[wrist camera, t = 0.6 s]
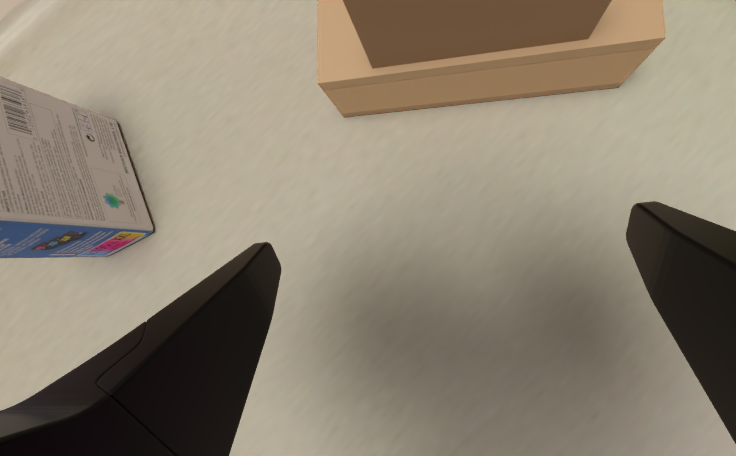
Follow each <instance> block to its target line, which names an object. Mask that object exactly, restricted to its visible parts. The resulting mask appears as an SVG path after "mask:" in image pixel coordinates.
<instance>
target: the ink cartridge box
mask: <svg viewBox="0 0 736 456" xmlns="http://www.w3.org/2000/svg"><path fill="white" fill-rule="evenodd" d="M152 232H153V226H152V223H151V220H150V217H149V214H148V211H147V209H146V206H145V203H144V200H143V197H142V194H141V191H140V189H139V186H138V183H137V180H136V177H135V174H134V171H133V168H132V165H131V162H130V159H129V156H128V153H127V150H126V148H125V145H124V142H123V139H122V136H121V134H120V131H119V127H118V124H117V122H116V121H115V120H112V119H110V118H107V117H104V116H102V115H99V114H97V113H94V112H91V111H89V110H86V109H84V108H81V107H78V106H76V105H73V104H70V103H68V102H65V101H63V100H60V99H57V98H55V97H52V96H50V95H47V94H45V93H42V92H39V91H37V90H34V89H31V88H29V87H26V86H23V85H21V84H18V83H15V82H13V81H10V80H8V79H5V78H3V77H0V258H44V257H106V256H109V255H111V254H113V253H115V252H117V251H119V250H121V249H123V248H125V247H127V246H129V245H131V244H133V243H134V242H136V241H138V240H140V239H142V238H144V237H146V236H148V235H150V234H151V233H152Z"/></svg>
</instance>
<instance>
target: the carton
mask: <svg viewBox="0 0 736 456" xmlns="http://www.w3.org/2000/svg"><path fill="white" fill-rule="evenodd" d="M654 49H655V48H650V49H642V50H634V51H626V52H619V53H611V54H603V55H595V56H587V57H579V58H572V59H564V60H556V61H548V62H540V63H532V64H524V65H517V66H509V67H501V68H493V69H485V70H477V71H470V72H462V73H454V74H446V75H438V76H430V77H422V78H415V79H407V80H399V81H391V82H383V83H375V84H368V85H360V86H352V87H344V88H336V89H328V90H323V91H324V92H325V94H326V95H327V96H328V97H329V99H330V100H331V101H332V102H333V104H334V105H335V106H336V108H337V109H338V110H339V111H340V113H341V114H342V115H343V116H344V117H351V116H360V115H369V114H378V113H388V112H397V111H406V110H415V109H425V108H434V107H443V106H452V105H462V104H471V103H480V102H489V101H498V100H508V99H517V98H526V97H535V96H545V95H554V94H563V93H572V92H582V91H591V90H600V89H609V88H618V87H619V86H620V85H621V84H622V83H623V82H624V81H625V80H626V79H627V78H628V77H629V76H630V75H631V74H632V73H633V71H634V70H635V69H636V68H637V67H638V66H639V65H640V64H641V63H642V62H643V61H644V60H645V59H646V58H647V57H648V56H649V55H650V54H651V53H652V52H653V50H654Z"/></svg>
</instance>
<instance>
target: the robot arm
mask: <svg viewBox="0 0 736 456" xmlns="http://www.w3.org/2000/svg"><path fill="white" fill-rule="evenodd" d="M626 240H627V243H628V246H629V248H630V250H631V253H632V255H633V258H634V260H635V262H636V265H637V267H638V269H639V272H640V274H641V276H642V279H643V281H644V284H645V286H646V288H647V291H648V293H649V295H650V297H651V299H652V301H653V303H654V305H655V306H656V308H657V310H658V312H659V313H660V315H661V317H662V319H663V320H664V322H665V324H666V325H667V327H668V329H669V330H670V332H671V334H672V336H673V337H674V339H675V341H676V342H677V344H678V346H679V348H680V349H681V351H682V353H683V354H684V356H685V358H686V360H687V361H688V363H689V365H690V366H691V368H692V370H693V372H694V373H695V375H696V377H697V378H698V380H699V382H700V384H701V385H702V387H703V389H704V390H705V392H706V394H707V396H708V397H709V399H710V401H711V402H712V404H713V406H714V408H715V409H716V411H717V413H718V414H719V416H720V418H721V420H722V421H723V423H724V425H725V426H726V428H727V430H728V432H729V433H730V435H731V437H732V438H733V440H734V442H735V444H736V231H733V230H731V229H728V228H725V227H723V226H720V225H717V224H715V223H712V222H709V221H707V220H704V219H701V218H699V217H696V216H694V215H691V214H688V213H686V212H683V211H680V210H678V209H675V208H672V207H670V206H667V205H664V204H662V203H659V202H654V201H653V202H644V203H636V204H635V205H634V206H633V207H632V209H631V213H630V218H629V222H628V227H627V232H626ZM280 275H281V265H280V262H279V260H278V258H277V256H276V254H275V251H274V249H273V247H272V245H271V244H270V243H268V242H263V243H255V244H253V245H252V246H250V247H249V248H248V249H246V250H245V251H243V252H242V253H241V254H239V255H238V256H236V257H235V258H234V259H232V260H231V261H229V262H228V263H227V264H225V265H224V266H222V267H221V268H220V269H218V270H217V271H215V272H214V273H213V274H211V275H210V276H208V277H207V278H205V279H204V280H203V281H201V282H200V283H198V284H197V285H196V286H194V287H193V288H191V289H190V290H189V291H187V292H186V293H184V294H183V295H182V296H180V297H179V298H177V299H176V300H175V301H173V302H172V303H170V304H169V305H168V306H166V307H165V308H163V309H162V310H161V311H159V312H158V313H156V314H155V315H153V316H152V317H151V318H149V319H148V320H147V322H144V323H142V324H141V325H139V326H138V327H137V328H135V329H134V330H132V331H131V332H129V333H128V334H127V335H125V336H124V337H122V338H121V339H119V340H118V341H116V342H115V343H114V344H112V345H111V346H109V347H108V348H106V349H104V350H103V351H101V352H100V353H98V354H97V355H95V356H94V357H92V358H91V359H89V360H88V361H86V362H85V363H83V364H81V365H80V366H78V367H77V368H75V369H74V370H72V371H71V372H69V373H67V374H66V375H64V376H63V377H61V378H60V379H58V380H57V381H55V382H53V383H52V384H50V385H49V386H47V387H46V388H44V389H42V390H41V391H39V392H38V393H36V394H35V395H33V396H31V397H30V398H28V399H26V400H24V401H22V402H20V403H18V404H16V405H14V406H12V407H9V408H7V409H5V410H2V411H0V456H229V454H230V451H231V447H232V444H233V441H234V438H235V435H236V432H237V428H238V425H239V422H240V419H241V416H242V413H243V409H244V406H245V403H246V400H247V397H248V393H249V390H250V387H251V384H252V381H253V378H254V374H255V371H256V368H257V365H258V362H259V358H260V355H261V352H262V349H263V346H264V343H265V339H266V336H267V333H268V330H269V327H270V323H271V320H272V316H273V311H274V306H275V301H276V296H277V291H278V286H279V280H280Z"/></svg>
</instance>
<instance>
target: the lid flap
mask: <svg viewBox="0 0 736 456" xmlns="http://www.w3.org/2000/svg"><path fill="white" fill-rule="evenodd" d="M665 38H666V34H665V23H664V12H663V1H662V0H317V47H318V85H319V86H320V87H321V88H322V90H328V89H336V88H344V87H352V86H360V85H368V84H375V83H383V82H391V81H399V80H407V79H415V78H422V77H430V76H438V75H446V74H454V73H462V72H470V71H477V70H485V69H493V68H501V67H509V66H517V65H524V64H532V63H540V62H548V61H556V60H564V59H572V58H579V57H587V56H595V55H603V54H611V53H619V52H626V51H634V50H642V49H650V48H656V47H657V46H658V45H659V44H660V43H661V42H662V41H663V40H664V39H665Z"/></svg>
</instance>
